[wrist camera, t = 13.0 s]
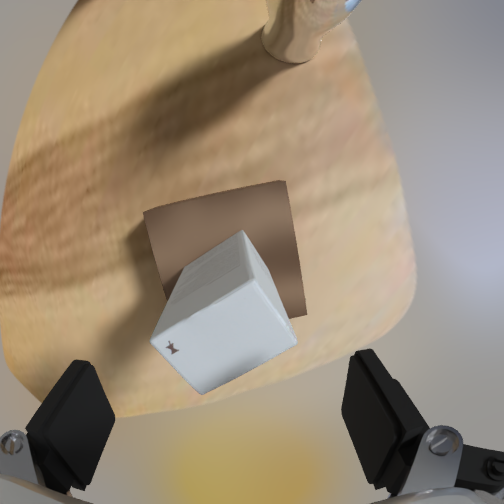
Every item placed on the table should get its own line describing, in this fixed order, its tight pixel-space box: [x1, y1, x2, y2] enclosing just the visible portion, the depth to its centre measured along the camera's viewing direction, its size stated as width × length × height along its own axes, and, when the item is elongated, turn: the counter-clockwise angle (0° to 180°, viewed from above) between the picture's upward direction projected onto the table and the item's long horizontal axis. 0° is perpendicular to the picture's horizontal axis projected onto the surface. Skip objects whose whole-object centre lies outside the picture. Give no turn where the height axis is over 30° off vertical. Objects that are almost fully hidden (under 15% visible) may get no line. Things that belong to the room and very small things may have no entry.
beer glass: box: [261, 0, 362, 63], centre depth 16 cm, size 7×7×15 cm
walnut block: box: [143, 180, 307, 319], centre depth 27 cm, size 12×12×5 cm
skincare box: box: [150, 230, 298, 395], centre depth 19 cm, size 6×4×12 cm
